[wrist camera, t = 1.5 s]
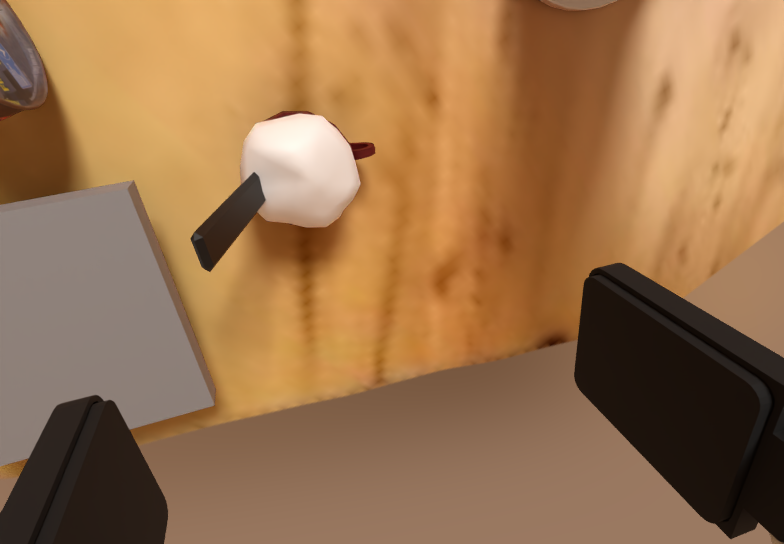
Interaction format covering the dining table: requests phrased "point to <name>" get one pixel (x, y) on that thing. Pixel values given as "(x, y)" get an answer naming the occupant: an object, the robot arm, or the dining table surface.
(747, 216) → the dining table surface
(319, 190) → the cocoa
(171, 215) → the dining table surface
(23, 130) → the dining table surface
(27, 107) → the tin
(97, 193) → the stand
